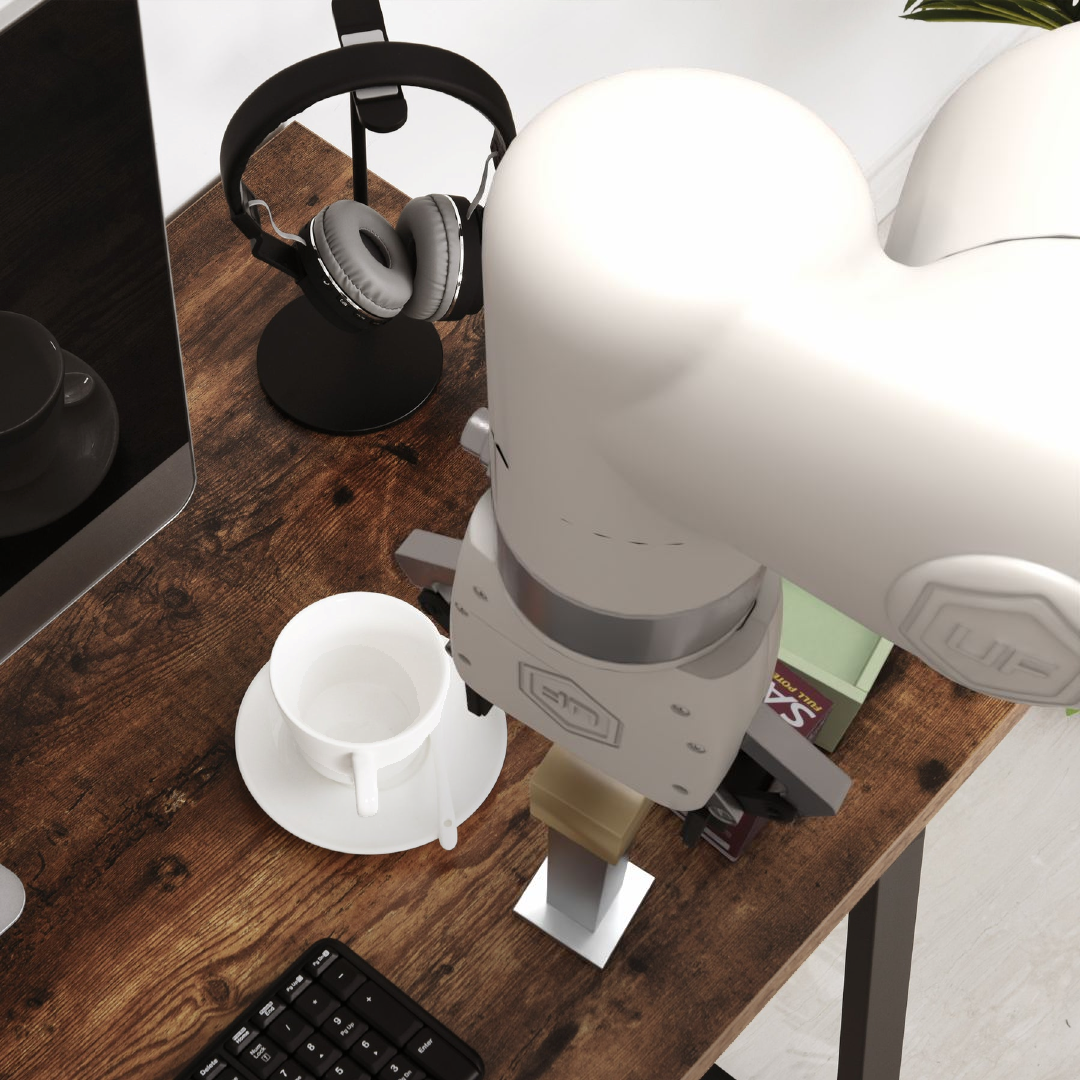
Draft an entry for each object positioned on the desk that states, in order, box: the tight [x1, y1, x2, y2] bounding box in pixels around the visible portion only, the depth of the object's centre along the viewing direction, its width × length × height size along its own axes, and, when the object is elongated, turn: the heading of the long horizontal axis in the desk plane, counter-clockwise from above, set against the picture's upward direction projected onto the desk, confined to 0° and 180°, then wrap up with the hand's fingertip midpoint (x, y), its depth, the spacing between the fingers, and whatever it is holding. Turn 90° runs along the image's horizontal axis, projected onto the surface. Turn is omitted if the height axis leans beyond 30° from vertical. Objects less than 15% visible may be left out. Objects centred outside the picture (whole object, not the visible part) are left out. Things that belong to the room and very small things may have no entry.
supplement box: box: [668, 660, 834, 862], centre depth 63 cm, size 9×5×16 cm, turn 48°
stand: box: [511, 824, 656, 973], centre depth 59 cm, size 6×6×18 cm
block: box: [529, 742, 655, 866], centre depth 49 cm, size 4×4×4 cm
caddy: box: [777, 576, 895, 754], centre depth 72 cm, size 13×11×8 cm
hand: (597, 747), depth 46 cm, fingers open, 9 cm apart
